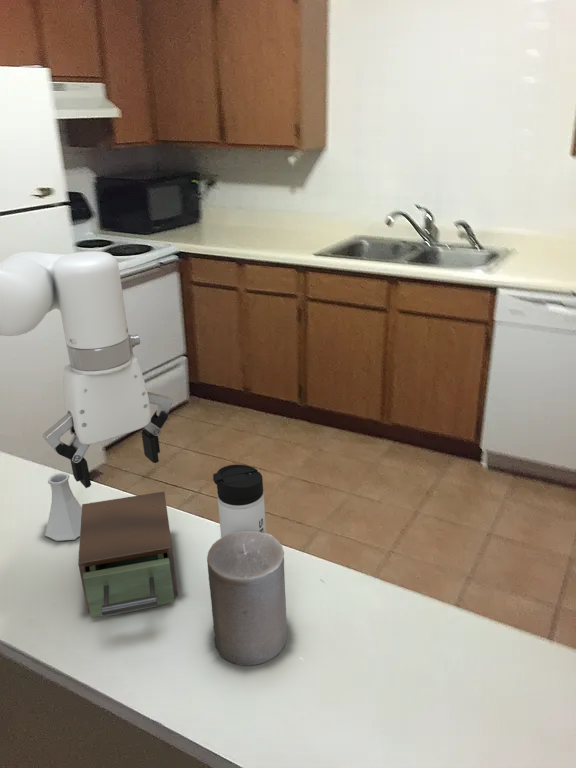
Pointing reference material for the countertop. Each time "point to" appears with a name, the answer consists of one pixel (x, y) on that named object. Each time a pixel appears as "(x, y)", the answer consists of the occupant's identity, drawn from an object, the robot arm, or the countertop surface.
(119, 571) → the bin drawer
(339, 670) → the countertop surface
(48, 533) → the flask
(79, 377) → the robot arm
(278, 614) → the pillar candle
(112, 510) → the cabinet
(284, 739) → the countertop surface
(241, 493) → the travel mug
